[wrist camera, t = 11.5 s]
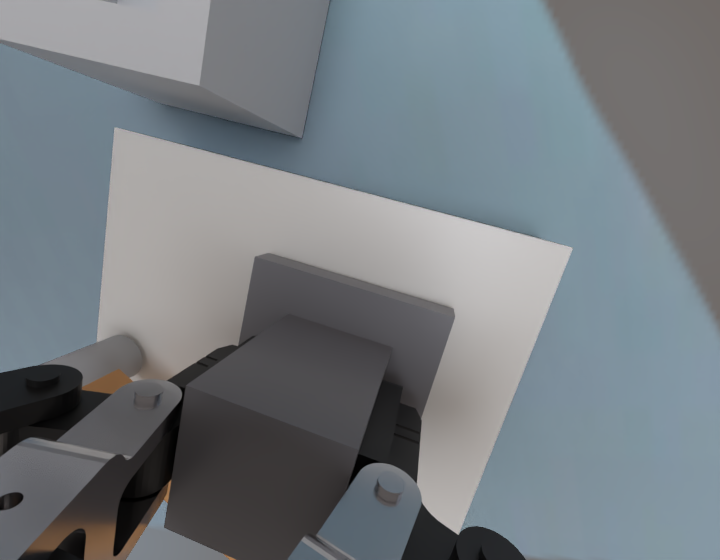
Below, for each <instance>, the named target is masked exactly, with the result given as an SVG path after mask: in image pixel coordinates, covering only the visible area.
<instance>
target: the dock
mask: <svg viewBox="0 0 720 560" xmlns="http://www.w3.org/2000/svg"><path fill="white" fill-rule="evenodd" d="M329 2H330V0H0V43H2V44H4V45H7V46H10V47H12V48H15V49H18V50H20V51H23V52H25V53H28V54H31V55H33V56H36V57H39V58H41V59H44V60H47V61H49V62H52V63H55V64H57V65H60V66H63V67H65V68H68V69H70V70H73V71H76V72H78V73H81V74H84V75H86V76H89V77H92V78H94V79H97V80H100V81H102V82H105V83H108V84H110V85H113V86H115V87H118V88H121V89H123V90H126V91H129V92H131V93H134V94H137V95H139V96H142V97H145V98H147V99H150V100H153V101H155V102H158V103H160V104H165V105H169V106H173V107H177V108H181V109H185V110H189V111H193V112H197V113H201V114H205V115H209V116H213V117H217V118H221V119H225V120H229V121H233V122H237V123H242V124H246V125H250V126H254V127H258V128H262V129H266V130H270V131H274V132H278V133H282V134H286V135H290V136H294V137H298V138H302V136H303V131H304V126H305V121H306V116H307V111H308V106H309V101H310V96H311V91H312V86H313V81H314V77H315V72H316V67H317V62H318V57H319V52H320V47H321V42H322V37H323V32H324V27H325V22H326V17H327V12H328V7H329Z"/></svg>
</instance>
